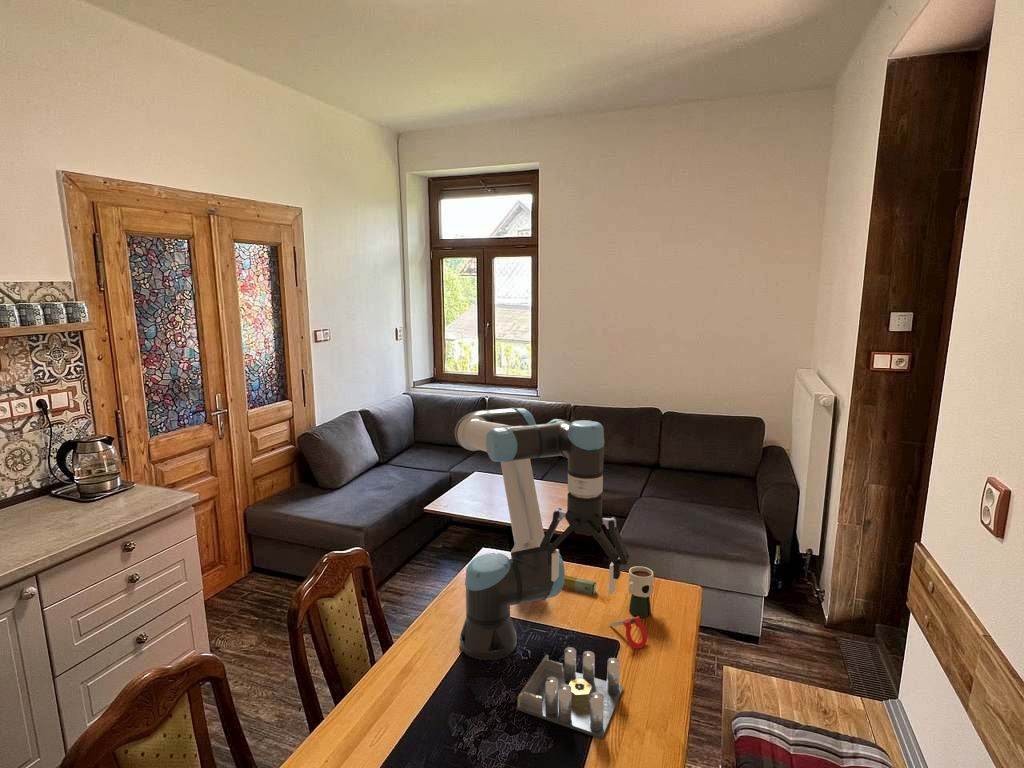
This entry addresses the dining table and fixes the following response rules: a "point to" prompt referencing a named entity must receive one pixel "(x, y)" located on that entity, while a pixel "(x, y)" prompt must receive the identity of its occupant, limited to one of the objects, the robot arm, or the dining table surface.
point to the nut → (580, 692)
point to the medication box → (579, 585)
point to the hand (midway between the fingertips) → (583, 585)
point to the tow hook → (628, 631)
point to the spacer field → (554, 694)
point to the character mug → (640, 590)
